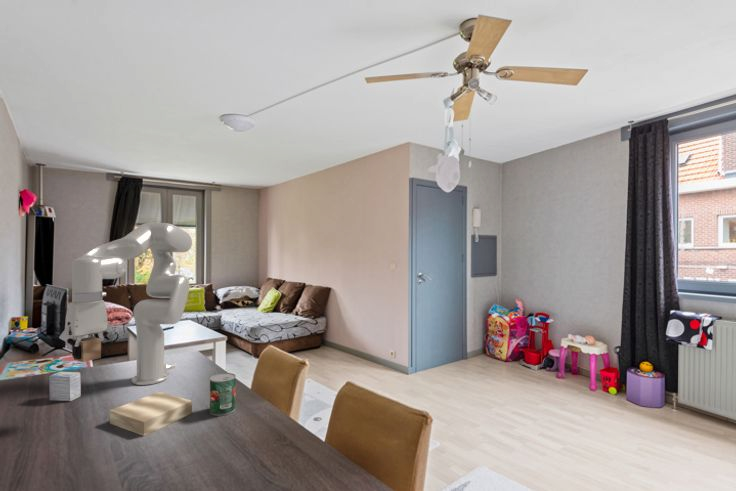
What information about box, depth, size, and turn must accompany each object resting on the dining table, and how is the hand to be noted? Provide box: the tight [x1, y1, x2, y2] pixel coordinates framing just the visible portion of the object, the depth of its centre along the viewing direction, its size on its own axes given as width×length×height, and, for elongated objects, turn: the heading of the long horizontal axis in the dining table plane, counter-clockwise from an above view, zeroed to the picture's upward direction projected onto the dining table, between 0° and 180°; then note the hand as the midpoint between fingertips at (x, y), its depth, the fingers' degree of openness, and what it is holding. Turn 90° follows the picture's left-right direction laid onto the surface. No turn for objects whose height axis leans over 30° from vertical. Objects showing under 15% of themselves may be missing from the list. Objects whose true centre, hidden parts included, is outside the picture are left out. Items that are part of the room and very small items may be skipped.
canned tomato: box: [209, 372, 237, 417], centre depth 125 cm, size 8×8×11 cm
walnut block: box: [73, 336, 102, 363], centre depth 119 cm, size 5×5×6 cm
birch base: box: [109, 391, 193, 437], centre depth 119 cm, size 16×16×4 cm
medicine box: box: [48, 371, 82, 402], centre depth 133 cm, size 8×4×9 cm, turn 84°
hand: (87, 355), depth 119 cm, fingers closed on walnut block, 4 cm apart
